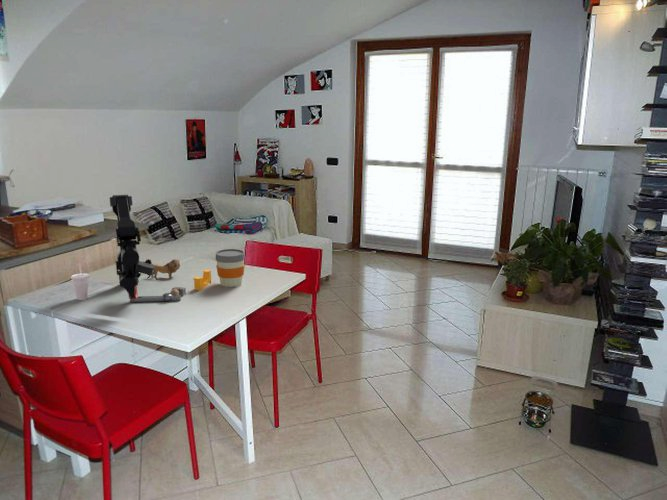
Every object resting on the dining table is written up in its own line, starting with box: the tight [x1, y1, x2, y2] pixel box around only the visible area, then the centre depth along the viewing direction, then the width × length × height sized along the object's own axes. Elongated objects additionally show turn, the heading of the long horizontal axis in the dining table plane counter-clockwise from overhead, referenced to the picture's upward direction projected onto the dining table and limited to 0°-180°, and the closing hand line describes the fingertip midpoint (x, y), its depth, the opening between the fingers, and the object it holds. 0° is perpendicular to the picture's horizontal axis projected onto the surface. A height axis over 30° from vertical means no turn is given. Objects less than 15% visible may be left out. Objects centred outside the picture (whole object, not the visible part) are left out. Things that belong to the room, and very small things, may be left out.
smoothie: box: [70, 264, 90, 301], centre depth 199 cm, size 6×6×14 cm
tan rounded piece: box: [169, 289, 179, 295], centre depth 201 cm, size 4×4×4 cm
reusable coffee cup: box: [215, 248, 246, 288], centre depth 218 cm, size 13×13×15 cm
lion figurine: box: [146, 258, 181, 280], centre depth 225 cm, size 15×5×9 cm, turn 104°
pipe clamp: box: [193, 269, 212, 291], centre depth 215 cm, size 12×4×6 cm, turn 172°
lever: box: [128, 285, 182, 303], centre depth 196 cm, size 19×4×8 cm, turn 99°
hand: (133, 295), depth 194 cm, fingers open, 4 cm apart
